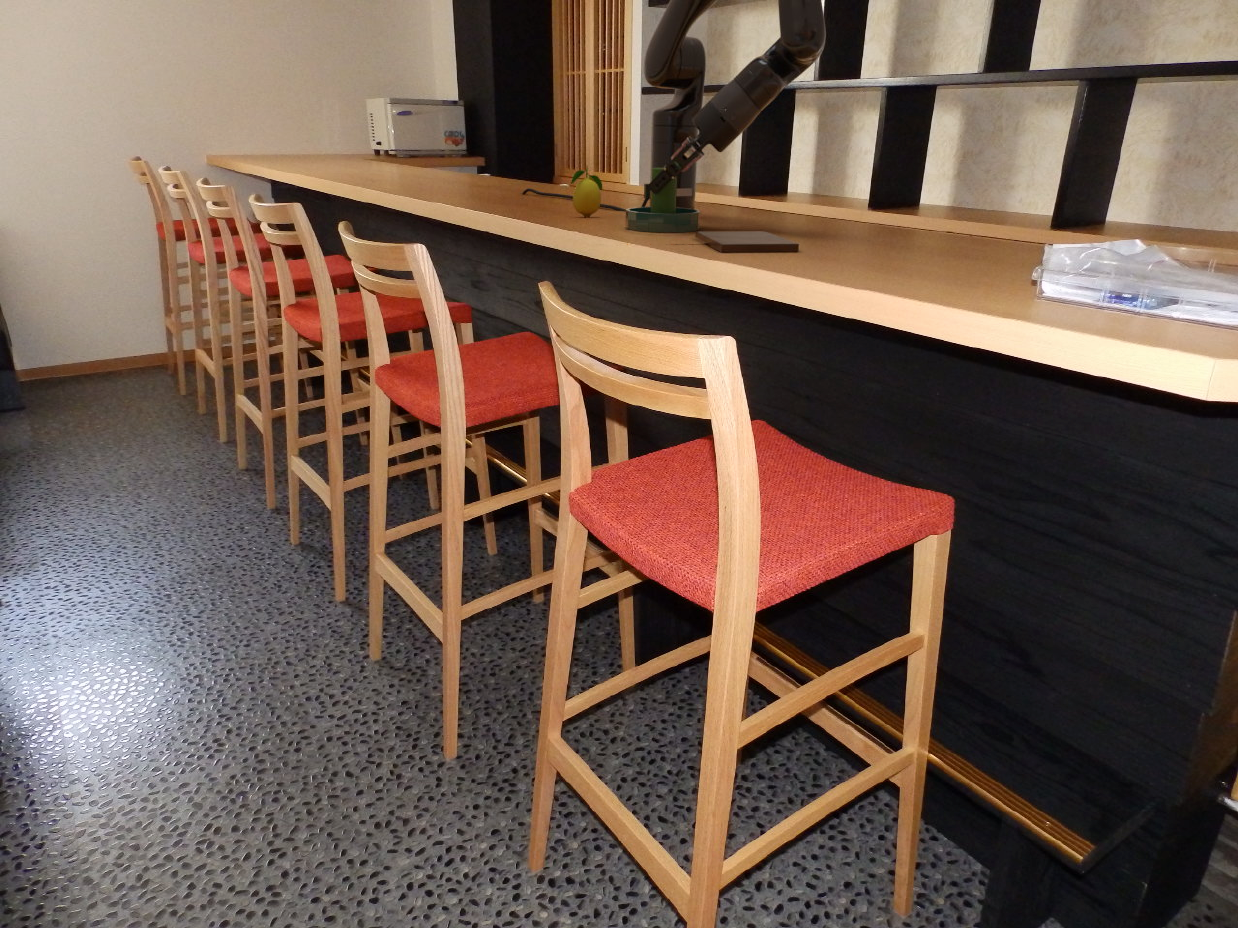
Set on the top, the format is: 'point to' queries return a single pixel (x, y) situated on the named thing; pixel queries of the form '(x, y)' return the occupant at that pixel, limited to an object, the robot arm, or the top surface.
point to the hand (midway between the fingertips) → (653, 189)
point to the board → (747, 241)
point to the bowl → (662, 220)
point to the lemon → (587, 193)
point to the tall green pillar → (664, 196)
